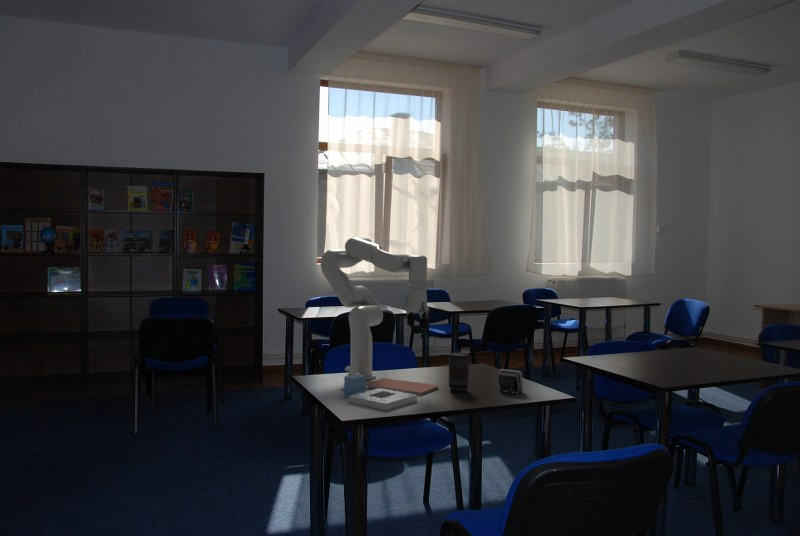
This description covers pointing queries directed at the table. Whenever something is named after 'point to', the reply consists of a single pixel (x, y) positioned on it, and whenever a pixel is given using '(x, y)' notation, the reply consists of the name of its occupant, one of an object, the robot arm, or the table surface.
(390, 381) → the notebook
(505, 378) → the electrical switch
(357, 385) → the servo
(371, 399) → the plate
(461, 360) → the camera lens
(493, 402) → the table surface
